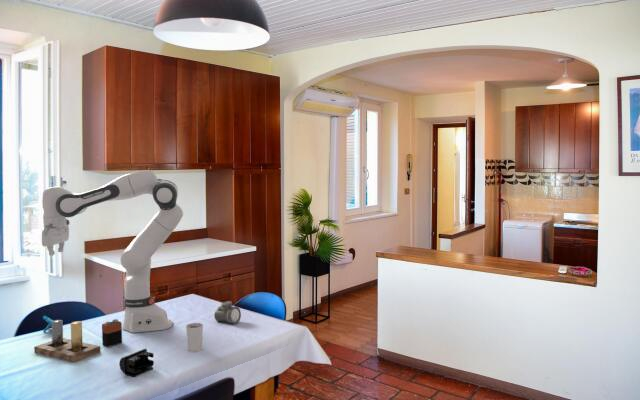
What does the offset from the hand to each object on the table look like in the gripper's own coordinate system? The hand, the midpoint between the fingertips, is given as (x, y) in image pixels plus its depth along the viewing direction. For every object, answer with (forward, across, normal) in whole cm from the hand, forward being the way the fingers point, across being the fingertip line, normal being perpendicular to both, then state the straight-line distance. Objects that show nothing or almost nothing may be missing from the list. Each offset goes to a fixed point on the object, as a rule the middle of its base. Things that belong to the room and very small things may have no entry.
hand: (56, 253), depth 222 cm
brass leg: (+37, -28, -17) cm, 50 cm away
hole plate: (+37, -25, -12) cm, 46 cm away
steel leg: (+37, -22, -7) cm, 43 cm away
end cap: (+38, -48, -45) cm, 76 cm away
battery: (+37, -17, -27) cm, 49 cm away
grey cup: (+38, -28, -63) cm, 79 cm away
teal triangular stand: (+37, +6, +6) cm, 38 cm away
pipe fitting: (+38, +8, -73) cm, 83 cm away
